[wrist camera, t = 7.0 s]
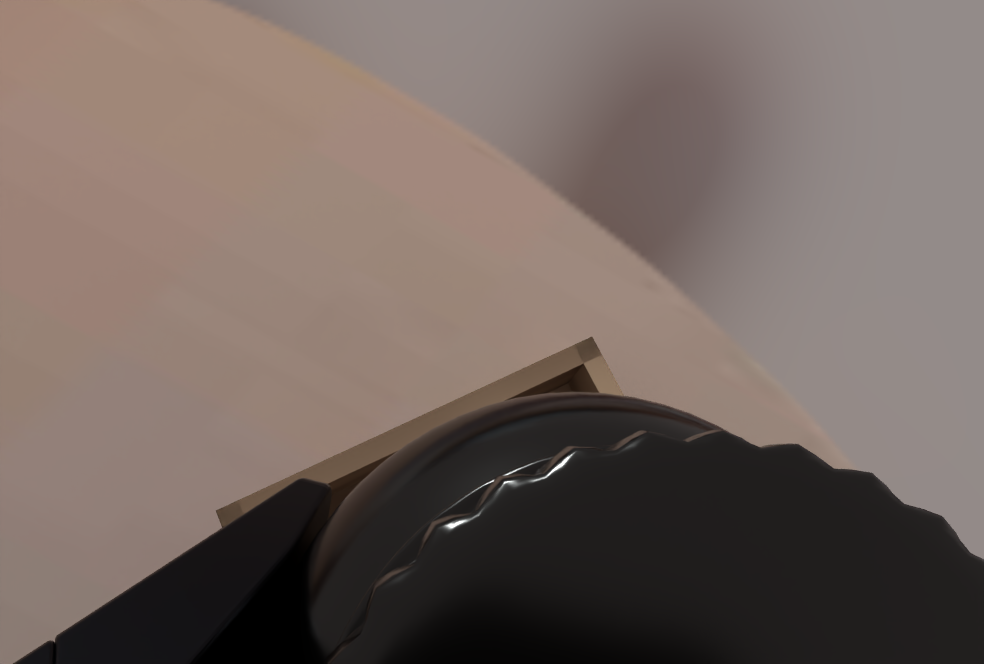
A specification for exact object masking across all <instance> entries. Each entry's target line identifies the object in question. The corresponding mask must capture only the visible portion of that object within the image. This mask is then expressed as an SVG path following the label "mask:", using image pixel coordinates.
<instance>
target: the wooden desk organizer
mask: <svg viewBox="0 0 984 664" xmlns="http://www.w3.org/2000/svg"><path fill="white" fill-rule="evenodd" d="M562 392H590V393H606V394H613V395H621V396H624V395H623V393H622V391H621V389H620V387H619V386H618V384H617V382H616V380H615V378H614V376H613V374H612V373H611V371H610V369H609V367H608V365H607V363H606V362H605V360H604V358H603V356H602V354H601V352H600V350H599V349H598V347H597V345H596V343H595V341H594V339H593V337H590V338H588V339H586V340H584V341H582V342H579V343H577V344H575V345H573V346H571V347H569V348H566V349H564V350H562V351H560V352H558V353H556V354H553V355H551V356H549V357H547V358H545V359H543V360H540V361H538V362H536V363H534V364H532V365H530V366H528V367H525V368H523V369H521V370H519V371H517V372H515V373H512V374H510V375H508V376H506V377H504V378H502V379H499V380H497V381H495V382H493V383H491V384H489V385H486V386H484V387H482V388H480V389H478V390H476V391H474V392H471V393H469V394H467V395H465V396H463V397H461V398H458V399H456V400H454V401H452V402H450V403H448V404H445V405H443V406H441V407H439V408H437V409H435V410H432V411H430V412H428V413H426V414H424V415H422V416H419V417H417V418H415V419H413V420H411V421H409V422H407V423H404V424H402V425H400V426H398V427H396V428H394V429H391V430H389V431H387V432H385V433H383V434H381V435H378V436H376V437H374V438H372V439H370V440H368V441H365V442H363V443H361V444H359V445H357V446H355V447H352V448H350V449H348V450H346V451H344V452H342V453H340V454H337V455H335V456H333V457H331V458H329V459H327V460H324V461H322V462H320V463H318V464H316V465H314V466H311V467H309V468H307V469H305V470H303V471H301V472H298V473H296V474H294V475H292V476H290V477H288V478H285V479H283V480H281V481H279V482H277V483H275V484H273V485H270V486H268V487H266V488H264V489H262V490H260V491H257V492H255V493H253V494H251V495H249V496H247V497H244V498H242V499H240V500H238V501H236V502H234V503H231V504H229V505H227V506H225V507H223V508H221V509H218V510H216V512H217V515H218V518H219V520H220V523H221V526H222V528H223V527H225V526H226V525H228V524H229V523H231V522H232V521H234V520H235V519H237V518H238V517H240V516H242V515H243V514H245V513H246V512H248V511H249V510H251V509H252V508H254V507H255V506H257V505H258V504H260V503H261V502H263V501H265V500H266V499H268V498H269V497H271V496H272V495H274V494H275V493H277V492H278V491H280V490H281V489H283V488H285V487H286V486H288V485H289V484H291V483H292V482H294V481H295V480H297V479H300V478H307V479H311V480H315V481H319V482H323V483H327V484H329V485H330V486H331V489H332V496H331V503H330V509H329V516H328V518H329V517H330V516H331V515H332V513H333V512H334V511H335V509H336V508H337V507H338V506H339V505H340V504H341V502H342V501H343V500H344V499H345V498H346V497H347V496H348V495H349V494H350V493H351V492H352V490H353V489H354V488H355V487H356V486H357V485H358V484H359V483H360V482H361V481H362V480H363V479H365V478H366V477H367V476H368V475H369V474H370V473H371V472H372V471H373V470H375V469H376V468H377V467H378V466H379V465H380V464H381V463H382V462H384V461H385V460H386V459H388V458H389V457H390V456H392V455H393V454H394V453H396V452H397V451H398V450H400V449H401V448H402V447H404V446H405V445H407V444H408V443H410V442H411V441H413V440H415V439H416V438H418V437H420V436H421V435H423V434H425V433H426V432H428V431H430V430H431V429H433V428H435V427H437V426H439V425H441V424H443V423H445V422H447V421H449V420H452V419H454V418H456V417H458V416H460V415H462V414H465V413H468V412H471V411H473V410H476V409H479V408H482V407H484V406H487V405H491V404H495V403H499V402H502V401H506V400H510V399H514V398H519V397H525V396H532V395H538V394H545V393H562Z"/></svg>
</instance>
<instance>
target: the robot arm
mask: <svg viewBox="0 0 984 664" xmlns="http://www.w3.org/2000/svg"><path fill="white" fill-rule="evenodd" d="M331 496H332V489H331V486H330V485H329V484H327V483H323V482H319V481H315V480H311V479H307V478H300V479H297V480H295V481H294V482H292V483H291V484H289V485H288V486H286V487H285V488H283V489H281V490H280V491H278V492H277V493H275V494H274V495H272V496H271V497H269V498H268V499H266V500H265V501H263V502H261V503H260V504H258V505H257V506H255V507H254V508H252V509H251V510H249V511H248V512H246V513H245V514H243V515H242V516H240V517H238V518H237V519H235V520H234V521H232V522H231V523H229V524H228V525H226V526H225V527H223V528H222V529H220V530H218V531H217V532H215V533H214V534H212V535H211V536H209V537H208V538H206V539H205V540H203V541H202V542H200V543H198V544H197V545H195V546H194V547H192V548H191V549H189V550H188V551H186V552H185V553H183V554H182V555H180V556H178V557H177V558H175V559H174V560H172V561H171V562H169V563H168V564H166V565H165V566H163V567H162V568H160V569H158V570H157V571H155V572H154V573H152V574H151V575H149V576H148V577H146V578H145V579H143V580H142V581H140V582H139V583H137V584H135V585H134V586H132V587H131V588H129V589H128V590H126V591H125V592H123V593H122V594H120V595H119V596H117V597H115V598H114V599H112V600H111V601H109V602H108V603H106V604H105V605H103V606H102V607H100V608H99V609H97V610H95V611H94V612H92V613H91V614H89V615H88V616H86V617H85V618H83V619H82V620H80V621H79V622H77V623H75V624H74V625H72V626H71V627H69V628H68V629H66V630H65V631H63V632H62V633H60V634H59V635H57V636H56V638H55V643H54V642H53V641H47V642H46V643H44V644H43V645H41V646H40V647H38V648H37V649H35V650H33V651H32V652H30V653H29V654H27V655H26V656H24V657H23V658H21V659H20V660H18V661H17V662H15V663H13V664H259V660H260V657H261V654H262V650H263V647H264V644H265V640H266V637H267V634H268V630H269V627H270V625H271V622H272V620H273V617H274V615H275V612H276V610H277V607H278V605H279V602H280V600H281V597H282V595H283V592H284V590H285V589H286V587H287V585H288V583H289V581H290V579H291V577H292V575H293V573H294V571H295V569H296V567H297V565H298V563H299V561H300V560H301V558H302V557H303V555H304V553H305V552H306V550H307V549H308V547H309V545H310V544H311V542H312V541H313V539H314V537H315V536H316V534H317V533H318V532H319V530H320V529H321V528H322V526H323V525H324V524H325V522H326V521H327V520H328V516H329V509H330V503H331Z"/></svg>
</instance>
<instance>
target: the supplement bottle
mask: <svg viewBox="0 0 984 664" xmlns="http://www.w3.org/2000/svg"><path fill="white" fill-rule="evenodd" d="M259 664H984V559H982V558H980V557H977V556H975V555H973V554H971V553H970V552H969V551H968V549H967V548H966V547H965V546H964V544H963V543H962V542H961V541H960V539H959V537H958V536H957V534H956V532H955V531H954V530H953V529H952V528H951V526H950V525H949V524H948V523H947V521H946V520H945V519H944V518H943V517H942V516H940V515H938V514H935V513H932V512H929V511H927V510H924V509H921V508H917V507H913V506H909V505H906V504H904V503H902V502H901V501H900V500H899V499H898V498H897V497H896V496H895V495H894V494H893V493H892V492H891V491H890V489H889V488H888V487H887V486H886V485H885V484H884V483H882V481H880V480H879V479H878V478H877V477H876V476H875V475H874V474H873V473H870V472H863V471H857V470H849V469H834V468H832V467H831V466H830V465H828V464H827V463H826V462H824V461H823V460H822V459H820V458H819V457H818V456H816V455H815V454H813V453H811V452H810V451H808V450H807V449H805V448H803V447H802V446H800V445H799V444H791V443H789V444H774V445H766V446H762V447H758V446H755V445H753V444H750V443H748V442H747V441H745V440H744V439H743V438H740V437H738V436H736V435H733V434H731V433H730V432H728V431H726V430H724V429H723V428H721V427H719V426H717V425H715V424H713V423H710V422H708V421H706V420H704V419H701V418H699V417H697V416H695V415H692V414H690V413H687V412H684V411H681V410H678V409H675V408H672V407H669V406H667V405H664V404H660V403H656V402H651V401H647V400H643V399H639V398H635V397H628V396H621V395H613V394H606V393H590V392H562V393H545V394H538V395H532V396H525V397H519V398H514V399H510V400H506V401H502V402H499V403H495V404H491V405H487V406H484V407H482V408H479V409H476V410H473V411H471V412H468V413H465V414H462V415H460V416H458V417H456V418H454V419H452V420H449V421H447V422H445V423H443V424H441V425H439V426H437V427H435V428H433V429H431V430H430V431H428V432H426V433H425V434H423V435H421V436H420V437H418V438H416V439H415V440H413V441H411V442H410V443H408V444H407V445H405V446H404V447H402V448H401V449H400V450H398V451H397V452H396V453H394V454H393V455H392V456H390V457H389V458H388V459H386V460H385V461H384V462H382V463H381V464H380V465H379V466H378V467H377V468H376V469H375V470H373V471H372V472H371V473H370V474H369V475H368V476H367V477H366V478H365V479H363V480H362V481H361V482H360V483H359V484H358V485H357V486H356V487H355V488H354V489H353V490H352V492H351V493H350V494H349V495H348V496H347V497H346V498H345V499H344V500H343V501H342V502H341V504H340V505H339V506H338V507H337V508H336V509H335V511H334V512H333V513H332V515H331V516H330V517H329V518H328V520H327V521H326V522H325V524H324V525H323V526H322V528H321V529H320V530H319V532H318V533H317V534H316V536H315V537H314V539H313V541H312V542H311V544H310V545H309V547H308V549H307V550H306V552H305V553H304V555H303V557H302V558H301V560H300V561H299V563H298V565H297V567H296V569H295V571H294V573H293V575H292V577H291V579H290V581H289V583H288V585H287V587H286V589H285V590H284V592H283V595H282V597H281V600H280V602H279V605H278V607H277V610H276V612H275V615H274V617H273V620H272V622H271V625H270V627H269V630H268V634H267V637H266V640H265V644H264V647H263V650H262V654H261V657H260V660H259Z"/></svg>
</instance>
